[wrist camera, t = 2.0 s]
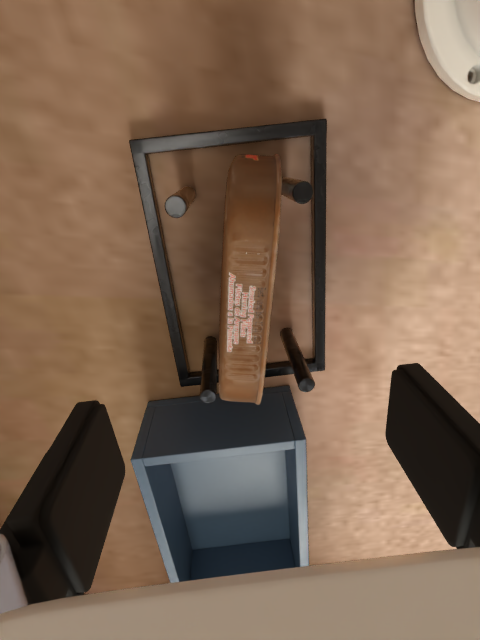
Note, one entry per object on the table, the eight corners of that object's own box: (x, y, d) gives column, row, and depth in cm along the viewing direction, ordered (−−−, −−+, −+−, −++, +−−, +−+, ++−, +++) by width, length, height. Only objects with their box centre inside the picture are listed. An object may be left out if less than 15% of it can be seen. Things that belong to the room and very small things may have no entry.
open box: (289, 385, 29) (306, 439, 23) (296, 534, 37) (310, 601, 32) (148, 401, 29) (130, 459, 23) (186, 547, 37) (181, 617, 32)
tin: (255, 360, 28) (269, 435, 20) (217, 359, 28) (215, 434, 20) (273, 156, 22) (302, 152, 14) (223, 153, 21) (225, 147, 14)
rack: (323, 120, 21) (368, 100, 14) (322, 365, 28) (352, 423, 22) (131, 140, 21) (92, 130, 14) (181, 381, 28) (170, 444, 22)
